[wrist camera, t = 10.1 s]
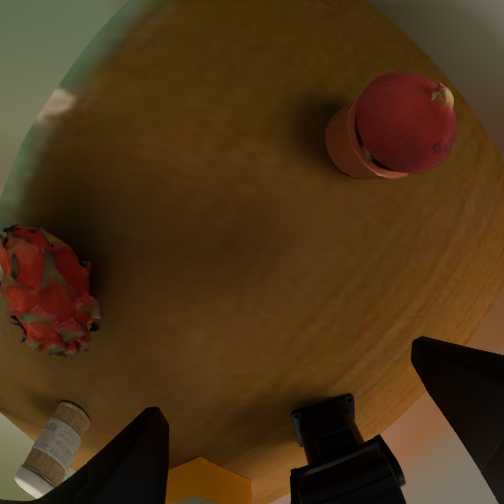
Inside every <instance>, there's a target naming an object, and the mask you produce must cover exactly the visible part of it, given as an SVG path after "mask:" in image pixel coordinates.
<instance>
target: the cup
mask: <svg viewBox="0 0 504 504" xmlns="http://www.w3.org/2000/svg"><path fill="white" fill-rule="evenodd" d="M360 96H361V95H360ZM360 96H359V97H360ZM359 97H357V98H356V99H354V100H353V101H351V102H350V103H348V104H347V105H345V106H344V107H343V108H341V109H340V110H338V111H337V112H336V113H335V114H334V115H333V116H332V117H331V119H330V120H329V122H328V124H327V127H326V131H325V143H326V148H327V151H328V154H329V156H330V158H331V159H332V161H333V162H334V164H335V165H336V166H337V167H338V168H339V169H340V170H341V171H342V172H344V173H345V174H347V175H349V176H351V177H354V178H357V179H365V180H371V179H395V178H400V177H405V176H407V175H408V174H409V173H402V172H396V171H394V170H392V169H390V168H388V167H386V166H384V165H383V164H381V163H379V162H378V161H377V160H376V159H375V158H374V157H373V156H372V154H371V153H370V152H369V151H368V150H367V149H366V147H365V145H364V143H363V141H362V138H361V136H360V134H359V131H358V123H357V116H356V111H357V106H358V101H359Z"/></svg>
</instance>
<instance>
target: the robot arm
mask: <svg viewBox="0 0 504 504" xmlns="http://www.w3.org/2000/svg"><path fill="white" fill-rule="evenodd" d="M411 362H412V364H413V366H414V368H415V370H416V372H417V373H418V375H419V377H420V379H421V381H422V382H423V384H424V386H425V388H426V390H427V391H428V393H429V395H430V396H431V397H432V399H433V400H434V402H435V403H436V405H437V406H438V408H439V409H440V410H441V412H442V413H443V415H444V416H445V418H446V419H447V420H448V422H449V424H450V425H451V427H452V428H453V429H454V431H455V432H456V434H457V435H458V437H459V438H460V440H461V442H462V443H463V444H464V446H465V448H466V449H467V451H468V452H469V454H470V455H471V457H472V459H473V460H474V462H475V463H476V465H477V467H478V468H479V470H480V471H481V474H482V475H483V477H484V479H485V480H486V482H487V484H488V486H489V487H490V489H491V491H492V493H493V494H494V496H495V498H496V500H497V502H498V503H499V504H504V355H501V354H496V353H492V352H487V351H483V350H478V349H474V348H470V347H466V346H461V345H457V344H453V343H449V342H445V341H441V340H437V339H433V338H429V337H425V336H421V337H419V338H417V339H415V340H413V342H412V350H411ZM349 398H350V399H349ZM291 416H292V420H293V424H294V428H295V432H296V435H297V439H298V443H299V446H300V447H304V451H305V454H306V458H307V462H308V465H306V466H303V467H300V468H294V469H291V476H290V488H291V504H406V501H405V498H404V496H403V493H402V491H401V488H400V487H402V486H403V485H405V484H406V483H405V478H404V475H403V472H402V470H401V467H400V465H399V463H398V461H397V459H396V458H395V456H394V455H393V453H392V452H391V450H390V449H389V447H388V446H387V444H386V443H385V442H384V440H383V438H382V437H381V435H380V434H378V435H376V436H374V438H372V439H370V440H368V441H366V442H364V440H363V438H362V436H361V434H360V431H359V429H358V427H357V425H356V423H355V415H354V397H353V395H352V394H348V395H345V396H342V397H339V398H336V399H333V400H330V401H327V402H324V403H320V404H317V405H314V406H310V407H306V408H303V409H299V410H295V411H293V412H292V413H291ZM168 470H169V424H168V421H167V420H166V418H165V417H164V415H163V413H162V412H161V410H160V409H159V408H158V407H147V408H146V409H144V410H143V411H142V412H141V413H140V414H139V415H138V416H137V417H136V418H135V419H134V420H133V421H132V422H131V423H130V424H129V425H128V426H127V427H125V428H124V429H123V430H122V431H121V432H120V433H119V434H118V435H117V436H116V437H115V438H114V439H113V440H112V441H110V442H109V443H108V444H107V445H106V446H105V447H104V448H103V449H102V450H101V451H99V452H98V453H97V454H96V455H95V456H94V457H93V458H92V459H91V460H89V461H88V462H87V464H85V465H84V466H83V467H81V468H80V469H79V470H78V471H77V472H76V473H74V474H73V475H72V476H71V477H70V478H68V479H67V480H65V481H64V482H63V483H61V484H60V485H58V486H57V487H55V488H54V489H52V490H51V491H49V492H48V493H46V494H45V495H43V496H42V497H40V498H38V499H36V500H32V501H12V500H1V499H0V504H165V501H166V490H167V480H168Z"/></svg>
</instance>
